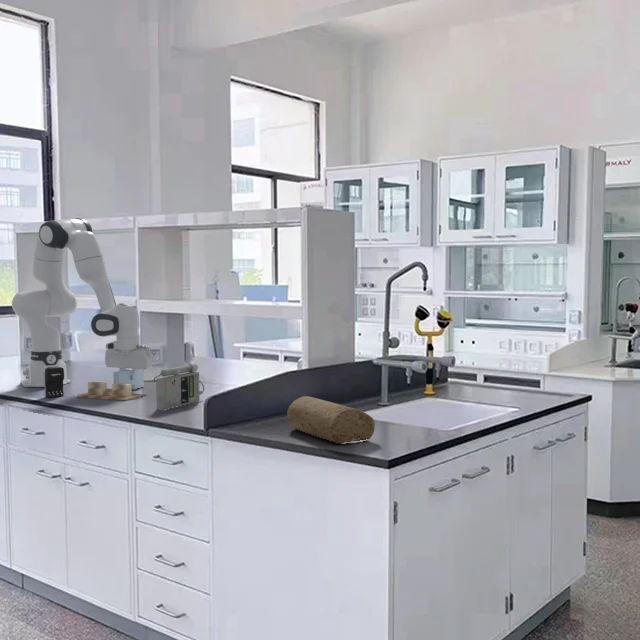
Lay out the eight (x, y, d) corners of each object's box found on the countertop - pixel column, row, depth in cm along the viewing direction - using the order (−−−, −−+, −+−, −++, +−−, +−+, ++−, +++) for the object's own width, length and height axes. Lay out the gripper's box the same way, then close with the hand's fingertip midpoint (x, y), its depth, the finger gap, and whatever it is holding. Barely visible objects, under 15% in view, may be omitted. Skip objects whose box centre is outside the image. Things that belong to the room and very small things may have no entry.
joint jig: (77, 397, 278) (76, 383, 278) (94, 392, 288) (94, 380, 287) (125, 400, 270) (125, 387, 270) (142, 396, 279) (142, 383, 279)
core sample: (322, 425, 228) (322, 393, 227) (376, 442, 206) (376, 406, 205) (283, 431, 220) (283, 397, 219) (334, 449, 198) (333, 411, 197)
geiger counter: (164, 370, 249) (210, 361, 271) (150, 368, 252) (196, 360, 274) (165, 411, 250) (211, 399, 272) (150, 409, 253) (197, 398, 275)
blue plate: (118, 393, 286) (118, 372, 286) (113, 393, 287) (113, 372, 286) (143, 387, 301) (143, 367, 300) (139, 386, 302) (138, 367, 301)
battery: (47, 398, 276) (47, 367, 275) (43, 397, 278) (42, 366, 278) (66, 396, 280) (65, 366, 279) (62, 395, 283) (61, 365, 282)
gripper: (155, 344, 292) (155, 380, 293) (112, 343, 299) (113, 377, 300) (145, 346, 286) (146, 382, 287) (102, 344, 294) (102, 379, 295)
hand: (128, 379), depth 294 cm, fingers closed on blue plate, 2 cm apart
